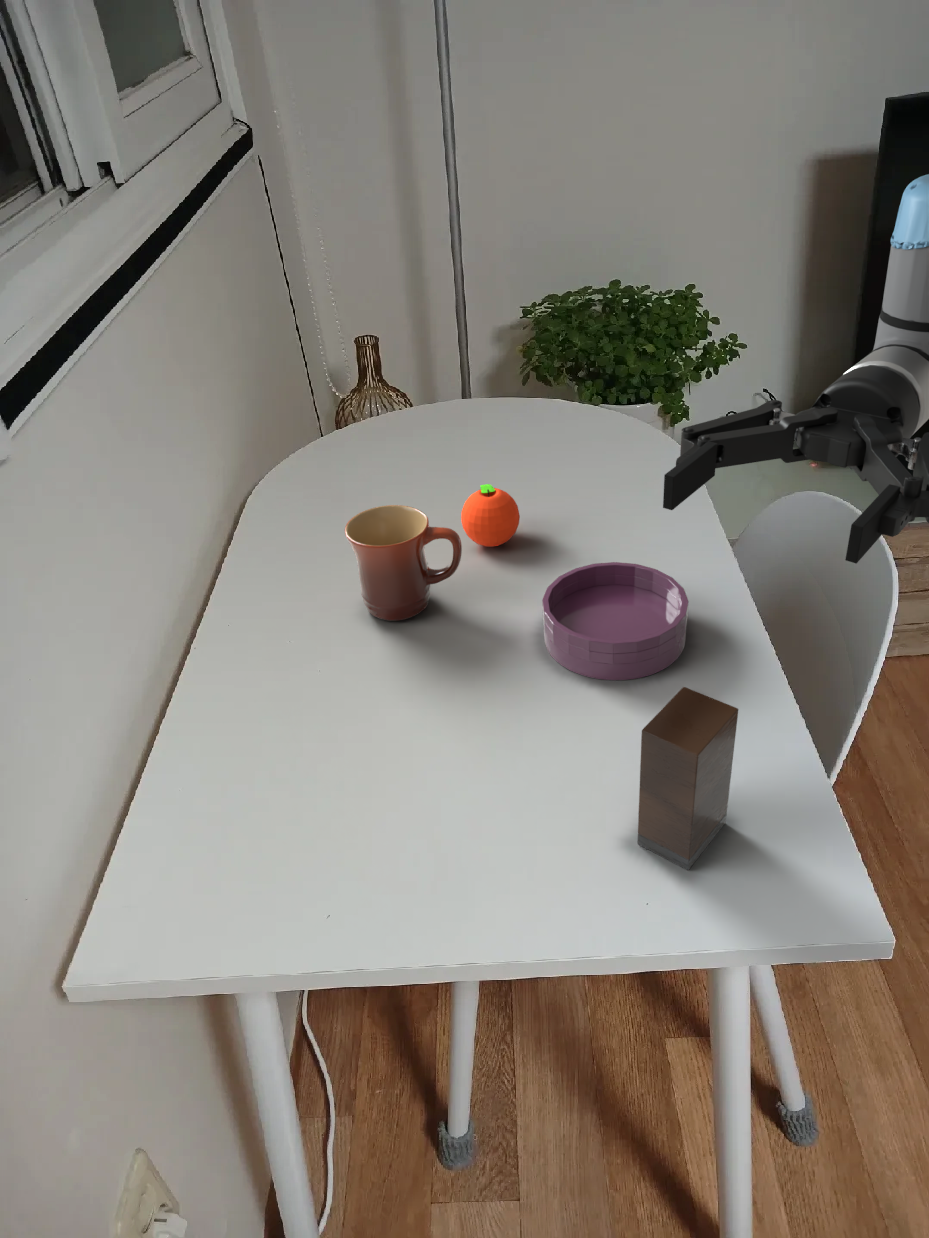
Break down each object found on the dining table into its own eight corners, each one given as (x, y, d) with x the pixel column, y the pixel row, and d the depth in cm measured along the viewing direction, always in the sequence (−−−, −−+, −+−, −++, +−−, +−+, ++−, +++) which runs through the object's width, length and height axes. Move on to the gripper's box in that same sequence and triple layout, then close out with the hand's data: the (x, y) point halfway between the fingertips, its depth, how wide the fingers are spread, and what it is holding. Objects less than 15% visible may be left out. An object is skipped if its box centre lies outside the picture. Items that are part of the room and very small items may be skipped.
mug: (351, 629, 102) (336, 547, 96) (366, 584, 109) (354, 505, 103) (462, 629, 100) (454, 545, 94) (470, 584, 107) (463, 503, 101)
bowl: (715, 638, 96) (718, 601, 93) (612, 700, 89) (613, 662, 86) (615, 582, 105) (615, 547, 103) (516, 634, 99) (513, 599, 96)
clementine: (457, 529, 118) (452, 477, 114) (511, 520, 118) (508, 468, 114) (469, 561, 111) (464, 508, 107) (527, 552, 112) (524, 498, 108)
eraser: (725, 822, 76) (739, 708, 69) (688, 871, 72) (697, 755, 65) (675, 798, 78) (683, 685, 71) (636, 844, 75) (641, 730, 68)
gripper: (1028, 486, 73) (933, 619, 61) (730, 420, 87) (602, 517, 75) (1055, 393, 69) (959, 516, 56) (737, 340, 83) (602, 428, 70)
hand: (755, 517), depth 65 cm, fingers open, 13 cm apart
